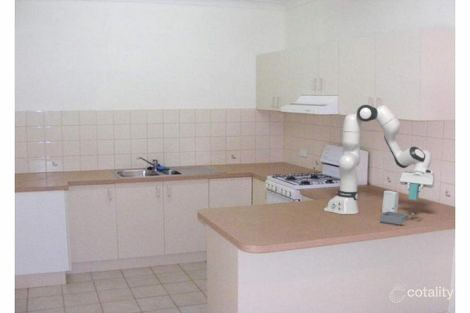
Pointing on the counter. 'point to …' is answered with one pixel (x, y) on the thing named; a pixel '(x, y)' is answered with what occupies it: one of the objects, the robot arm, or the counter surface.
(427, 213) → the counter surface
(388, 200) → the skincare box
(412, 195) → the strut
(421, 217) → the brown wooden lid
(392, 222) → the bin
